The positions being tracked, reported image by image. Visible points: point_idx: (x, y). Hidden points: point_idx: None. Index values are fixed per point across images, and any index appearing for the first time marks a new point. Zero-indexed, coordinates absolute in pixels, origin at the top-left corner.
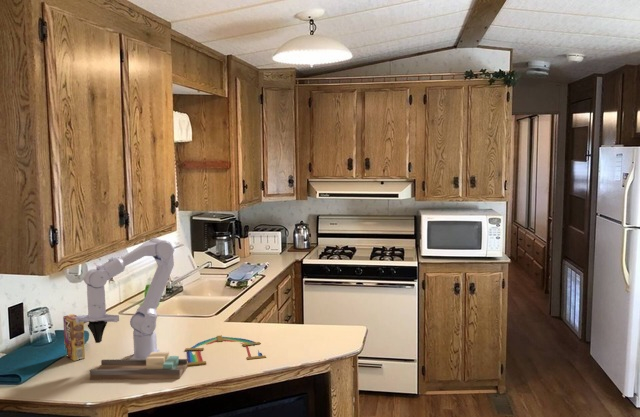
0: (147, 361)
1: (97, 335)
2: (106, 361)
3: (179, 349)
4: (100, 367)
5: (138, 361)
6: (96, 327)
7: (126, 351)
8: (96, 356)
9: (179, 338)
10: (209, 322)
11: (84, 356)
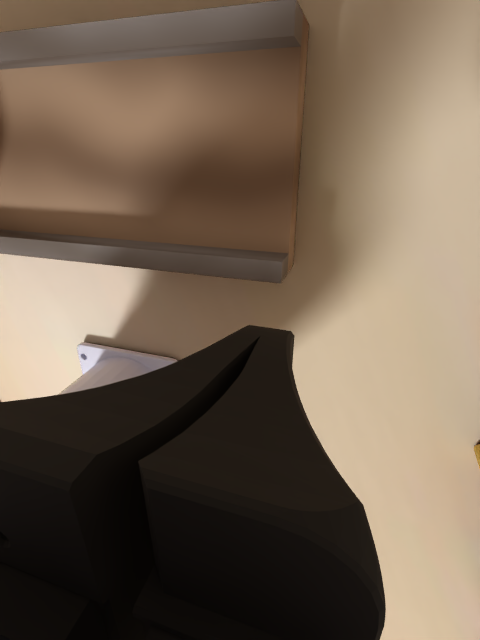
0: None
1: (220, 361)
2: (243, 256)
3: None
4: (275, 199)
5: (49, 239)
6: (113, 423)
7: None
8: (399, 458)
9: None
10: None
11: (477, 454)
